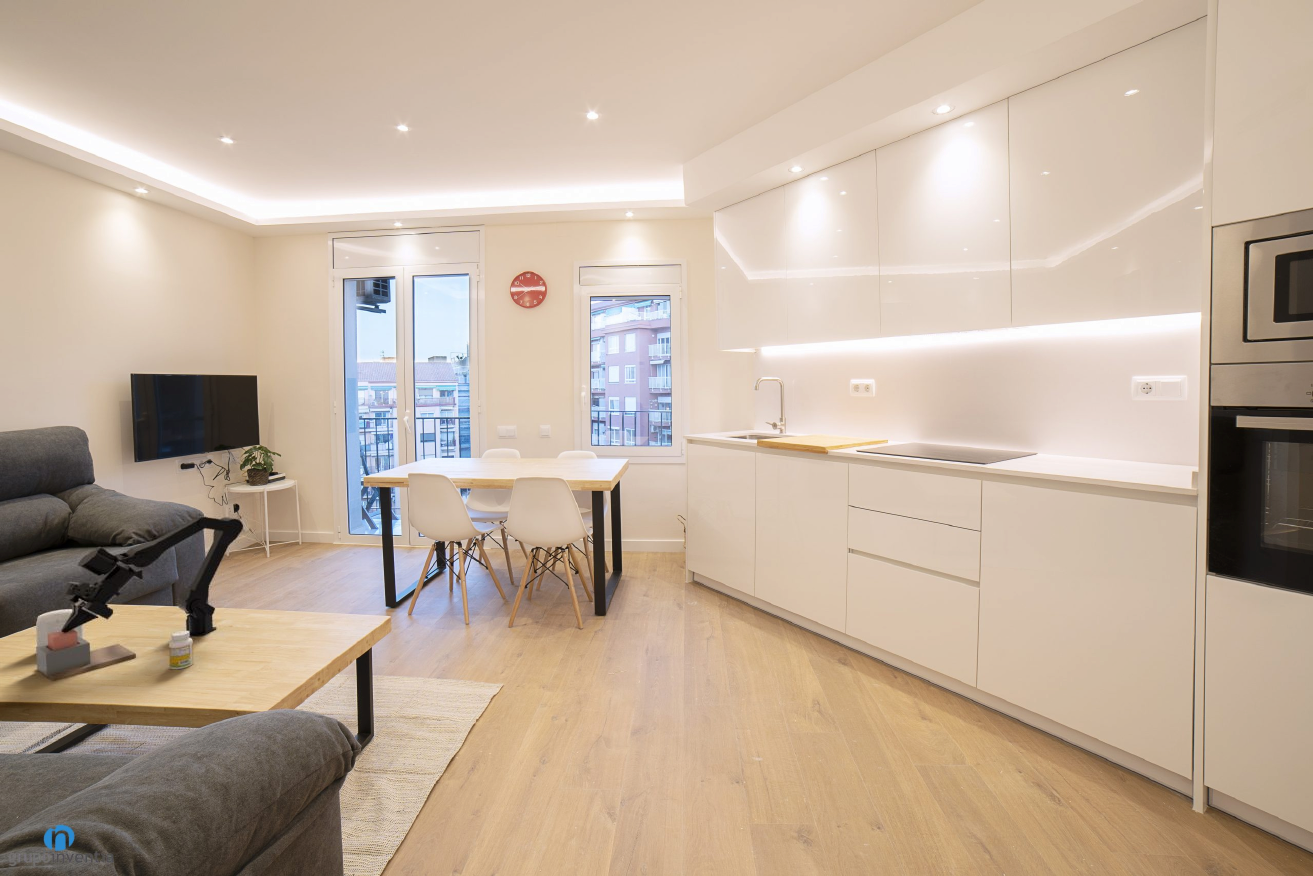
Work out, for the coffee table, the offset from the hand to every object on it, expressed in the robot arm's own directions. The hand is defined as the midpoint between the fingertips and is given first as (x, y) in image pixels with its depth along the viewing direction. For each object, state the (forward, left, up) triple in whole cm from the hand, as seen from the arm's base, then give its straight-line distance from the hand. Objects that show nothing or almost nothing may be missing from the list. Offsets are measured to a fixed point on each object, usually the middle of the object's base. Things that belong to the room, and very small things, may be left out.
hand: (62, 632), depth 168 cm
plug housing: (0, 0, -10) cm, 10 cm away
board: (-3, -4, -11) cm, 12 cm away
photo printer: (+16, -14, -11) cm, 23 cm away
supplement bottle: (-31, -4, -11) cm, 34 cm away
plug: (0, 0, -6) cm, 6 cm away
